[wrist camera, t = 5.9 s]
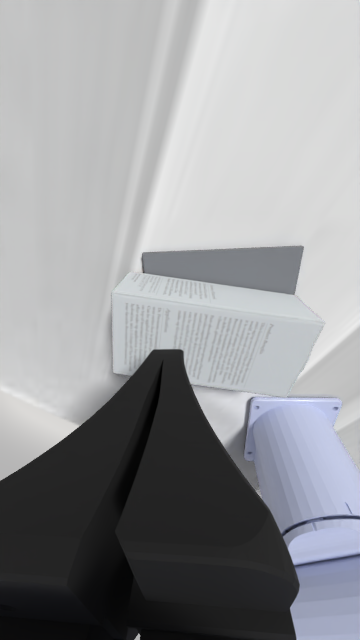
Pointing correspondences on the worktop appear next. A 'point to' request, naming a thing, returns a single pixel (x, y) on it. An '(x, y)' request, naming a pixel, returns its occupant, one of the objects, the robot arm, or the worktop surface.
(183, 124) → the worktop surface
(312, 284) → the worktop surface
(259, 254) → the mat
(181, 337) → the skincare box
